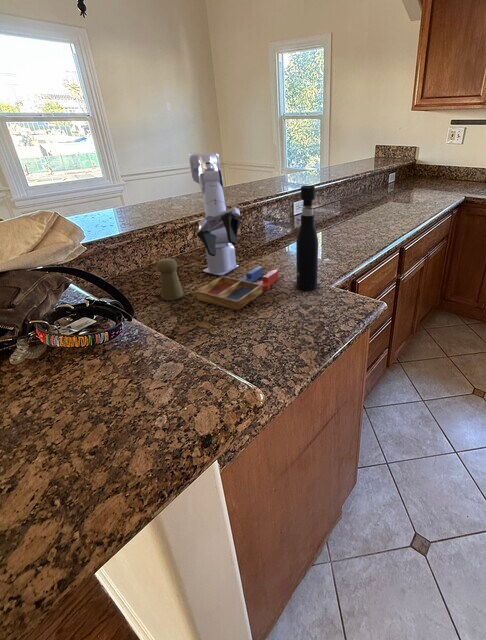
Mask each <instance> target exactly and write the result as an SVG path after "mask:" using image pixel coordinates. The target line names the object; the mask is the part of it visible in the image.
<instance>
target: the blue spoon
mask: <svg viewBox="0 0 486 640" xmlns="http://www.w3.org/2000/svg"><path fill="white" fill-rule="evenodd" d="M263 272H264V271H263V266H260V265H257V266H255V267H254V268H252V269H251V270H248V271H247V272H246V276H243V277H240V278H238V279H239V280H243V281H248V282H252V283H254V282H255V281H256V280H258V279H260V278H261V277H263V276H264V275H263Z"/></svg>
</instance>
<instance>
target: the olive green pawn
mask: <svg viewBox="0 0 486 640" xmlns="http://www.w3.org/2000/svg"><path fill="white" fill-rule="evenodd" d="M156 267H157V271H158V272H160V295H161V299H162V300H164V301H174V300H178V299H181V298H182V297H183V296H184V290H183V287H182V285H181V281H180V279H179V276H178V272H177V269H178V262H177V261H176V260H175V259H173V258H163V259H162V258H161V259H160V260H159V261H157V264H156Z"/></svg>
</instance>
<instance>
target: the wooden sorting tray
mask: <svg viewBox="0 0 486 640" xmlns="http://www.w3.org/2000/svg"><path fill="white" fill-rule="evenodd" d="M239 279H240V278H234V277H230V276H226V275H222V276H220V277H218V278H216V279H214V280H213V281H211V282H208V283H207V284H205V285H204V286H202V287H200V288H198V289H197V290H195V298H196V300H197V301H202V302H206V303H208V304H212V305H215V306H216V305H217V306H220V307H224V308H228V309H231V310H234V311H240V310H241V309H243V307H245V306H247V305H248V304H249V303H250V302H252V301H253V300H255V299H256V298H257V297H259V296H261V294H262V293H264V291H262V285H261V284H257V283H256V282H253V283H252V282H248V281H243V280H239Z"/></svg>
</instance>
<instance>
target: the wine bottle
mask: <svg viewBox="0 0 486 640" xmlns="http://www.w3.org/2000/svg"><path fill="white" fill-rule="evenodd" d="M315 199H316V186H314V185H301V186H300V200H302V203H303V204H302V208H301V215H300V226H299V229H298V231H297V236H296V241H295V242H296V243H295V246H296V248H295V249H296V250H295V251H296V253H295V255H296V259H295V260H296V269H295V271H296V288H297V290H300V291H306V292H311V291H313V290H316V289H317V288H318V271H319V270H318V269H319V268H318V264H319V238H318V232H317V229H316V227H315V214H314V208H313V200H315Z"/></svg>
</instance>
